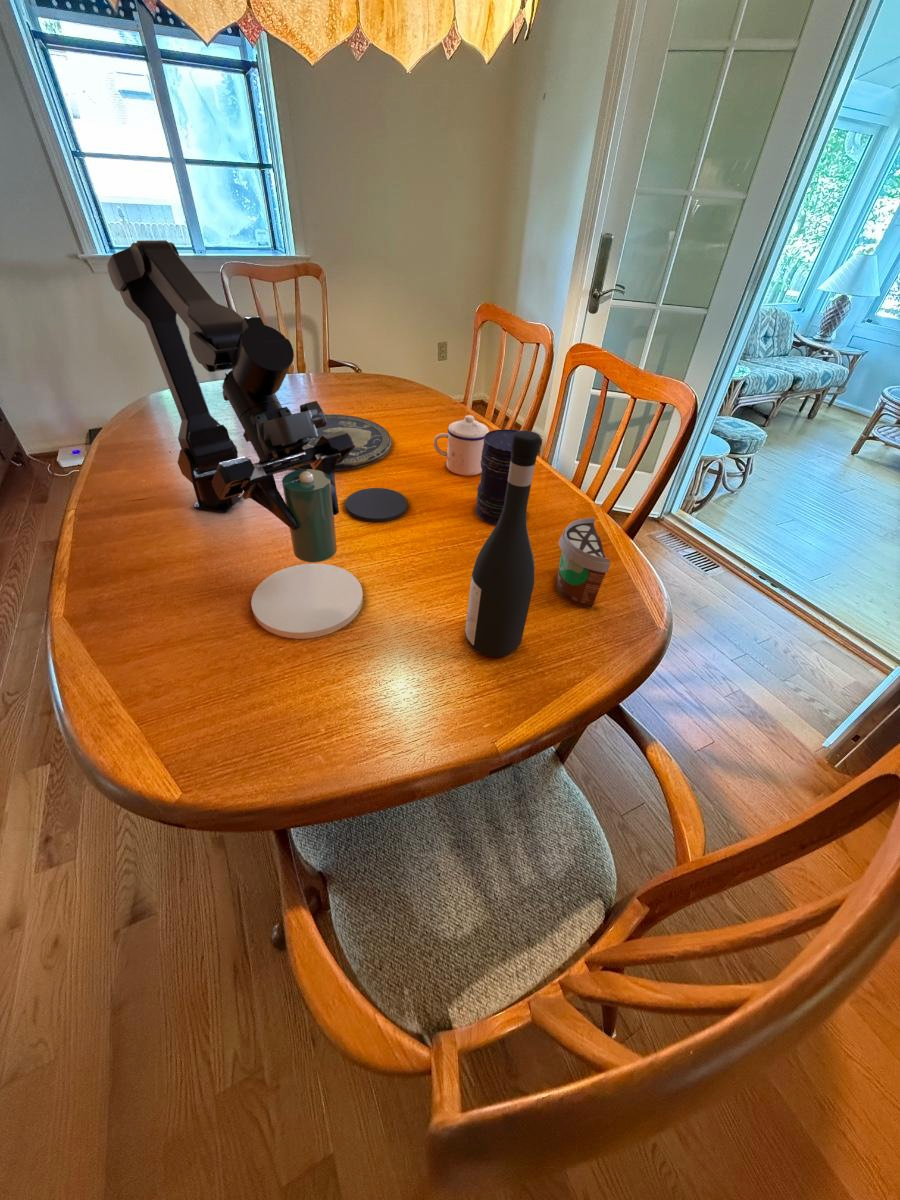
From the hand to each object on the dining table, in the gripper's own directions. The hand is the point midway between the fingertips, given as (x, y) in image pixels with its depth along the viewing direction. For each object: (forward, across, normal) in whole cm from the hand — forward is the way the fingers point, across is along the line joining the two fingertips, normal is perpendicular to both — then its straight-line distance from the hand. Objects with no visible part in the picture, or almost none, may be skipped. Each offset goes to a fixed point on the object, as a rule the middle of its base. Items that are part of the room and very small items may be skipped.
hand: (316, 521), depth 66 cm
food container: (+26, +31, -7) cm, 41 cm away
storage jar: (+10, +40, +10) cm, 43 cm away
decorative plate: (-24, +32, +43) cm, 59 cm away
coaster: (-2, +23, +22) cm, 32 cm away
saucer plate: (+9, -2, +10) cm, 14 cm away
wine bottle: (+26, +12, -7) cm, 29 cm away
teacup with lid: (-4, +48, +24) cm, 54 cm away
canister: (+3, 0, +5) cm, 6 cm away
